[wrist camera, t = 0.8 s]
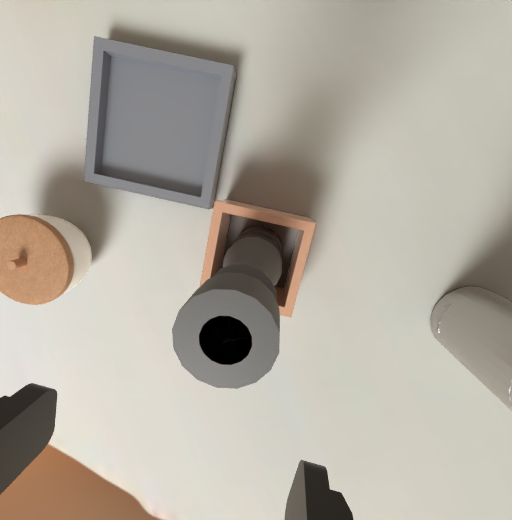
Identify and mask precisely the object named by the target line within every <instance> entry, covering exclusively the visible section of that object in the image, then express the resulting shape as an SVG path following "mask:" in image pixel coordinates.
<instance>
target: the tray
mask: <svg viewBox="0 0 512 520" xmlns="http://www.w3.org/2000/svg"><path fill="white" fill-rule="evenodd" d="M236 76H237V73H236V70H235V68H234V65H229V64H224V63H220V62H215V61H210V60H205V59H200V58H196V57H191V56H186V55H181V54H177V53H172V52H167V51H162V50H158V49H153V48H148V47H143V46H139V45H134V44H129V43H124V42H119V41H115V40H110V39H105V38H100V37H96V36H94V45H93V59H92V73H91V87H90V101H89V115H88V129H87V143H86V158H85V172H84V181H85V182H89V183H94V184H98V185H103V186H107V187H111V188H116V189H120V190H125V191H129V192H134V193H138V194H143V195H147V196H152V197H156V198H161V199H165V200H170V201H174V202H178V203H183V204H187V205H192V206H196V207H201V208H205V209H212V208H213V206H214V201H215V195H216V189H217V184H218V178H219V172H220V167H221V161H222V155H223V150H224V144H225V138H226V133H227V127H228V121H229V116H230V110H231V104H232V99H233V93H234V88H235V82H236Z"/></svg>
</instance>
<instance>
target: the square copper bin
mask: <svg viewBox="0 0 512 520" xmlns="http://www.w3.org/2000/svg"><path fill="white" fill-rule="evenodd" d="M231 214H233V215H237V216H241V217H246V218H250V219H255V220H259V221H264V222H268V223H273V224H277V225H282V226H286V227H291V228H295V229H299V230H298V234H297V238H296V242H295V246H294V250H293V253H292V257H291V261H290V265H289V269H288V273H287V277H286V281H285V285H284V288H282V287H278V286H274V287H275V290H276V302H277V304H278V306H279V309H280V315H283V316H288V317H291V316H292V312H293V309H294V305H295V301H296V297H297V293H298V290H299V286H300V282H301V278H302V274H303V271H304V267H305V263H306V259H307V255H308V252H309V248H310V244H311V240H312V236H313V233H314V229H315V225H316V223H315V222H314V221H313V220H311V219H310V218H309V217H304V216H300V215H295V214H291V213H286V212H282V211H277V210H273V209H268V208H264V207H259V206H255V205H250V204H246V203H241V202H237V201H232V200H228V199H224V200H218V201H215V203H214V209H213V215H212V220H211V226H210V232H209V237H208V243H207V248H206V254H205V260H204V265H203V271H202V277H201V282H200V286H201V285H202V284H203V283H204V282H205V281H206V280H207V279H209V278H212V277H213V276H214V275H215V274H216V273H217V272H218V271H219V270H220V269H221V265H222V260H223V255H224V250H225V245H226V239H227V234H228V229H229V224H230V219H231Z"/></svg>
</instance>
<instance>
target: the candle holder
mask: <svg viewBox="0 0 512 520" xmlns="http://www.w3.org/2000/svg"><path fill="white" fill-rule="evenodd" d="M281 274H282V245H281V242H280V240H279V237H278V236H277V235H276V234H275V233H274V232H273V231H272V230H271V229H268V228H266V227H263V226H254V227H251V228H249V229H247V230H245V231H244V232H243V233H242V234H241V235H240V236H239V237H238V238H237V239H236V241H235V243H234V244H233V245H232V246H231V247H230V248H229V249H228V250H227V252H226V255H225V257H224V260H223V268H221V269H220V270H219V271H218V272H217V273H216V274H215V275H214V276H213V277H212V278H209V279H207V280H206V281H205V282H204V283H203V284H202V285H201V286H200V287H199V288H198V289H197V290H196V291H195V293H194V294H193V295H192V296H191V297H190V298H189V300H188V301H187V302H186V303H185V304H184V306H183V307H182V308H181V309H180V310H179V312H178V315H177V318H176V320H175V323H174V326H173V328H172V333H173V347H174V350H175V352H176V354H177V356H178V358H179V360H180V362H181V364H182V366H183V367H184V368H185V369H186V370H187V371H189V372H190V373H191V374H192V375H193V376H194V377H195V378H196V379H197V380H200V381H202V382H204V383H207V384H209V385H212V386H214V387H217V388H240V387H243V386H246V385H249V384H252V383H256V382H257V381H258V380H259V379H261V378H262V377H263V376H264V375H265V374H266V373H268V372H269V371H270V370H271V368H272V366H273V364H274V362H275V360H276V358H277V356H278V354H279V333H280V309H279V306H278V304H277V302H276V290H275V287H274V286H275V285H276V284H277V283H278V280H279V278H280V276H281Z"/></svg>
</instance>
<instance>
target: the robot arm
mask: <svg viewBox="0 0 512 520" xmlns="http://www.w3.org/2000/svg"><path fill="white" fill-rule="evenodd" d="M431 329H432V332H433V334H434V336H435V338H436V339H437V340H438V341H439V342H440V343H441V344H442V345H443V346H444V347H445V348H446V349H447V350H448V351H449V352H450V353H451V354H452V355H453V356H454V357H455V358H456V359H457V360H459V361H460V362H461V363H462V364H463V365H464V366H465V367H466V368H467V369H468V370H469V371H470V372H471V373H472V374H473V375H474V376H475V377H477V378H478V379H479V380H480V381H481V382H482V383H483V384H484V385H485V386H486V387H487V388H488V389H489V390H490V391H491V392H492V393H494V394H495V395H496V396H497V397H498V398H499V399H500V400H501V401H502V402H503V403H504V404H505V405H506V406H507V407H508V408H509V409H511V410H512V301H510V300H508V299H506V298H504V297H502V296H500V295H498V294H495V293H493V292H491V291H489V290H487V289H485V288H481V287H473V286H468V287H462V288H459V289H456V290H453V291H451V292H450V293H448V294H446V295H445V296H444V297H443V298H442V299H440V301H439V302H438V303H437V304H436V306H435V308H434V310H433V312H432V316H431ZM56 403H57V391H56V390H55V389H51V388H48V387H44V386H41V385H37V384H33V383H31V384H28V385H26V386H25V387H23V388H22V389H20V390H19V391H18V392H16V393H15V394H14V395H12V396H11V397H8V396H3V397H1V398H0V494H1V493H2V492H3V491H4V490H5V489H6V488H7V487H8V486H9V485H10V484H11V483H12V482H13V481H14V480H15V479H16V478H17V477H18V476H19V475H20V474H21V472H22V471H23V470H24V469H25V468H26V467H27V466H28V465H29V464H30V463H31V462H32V461H33V460H34V459H35V458H36V457H37V456H38V455H39V454H40V453H41V452H42V450H43V449H44V448H45V446H46V445H47V444H48V442H49V441H50V439H51V437H52V434H53V432H54V427H55V415H56ZM285 520H353V515H352V512H351V510H350V508H349V507H348V505H347V503H346V501H345V499H344V497H343V495H342V493H340V492H337V491H333V490H330V488H329V481H328V474H327V470H326V467H324V466H321V465H317V464H314V463H310V462H307V461H303V460H301V461H300V463H299V465H298V468H297V471H296V474H295V477H294V480H293V484H292V487H291V490H290V493H289V496H288V499H287V504H286V511H285Z"/></svg>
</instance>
